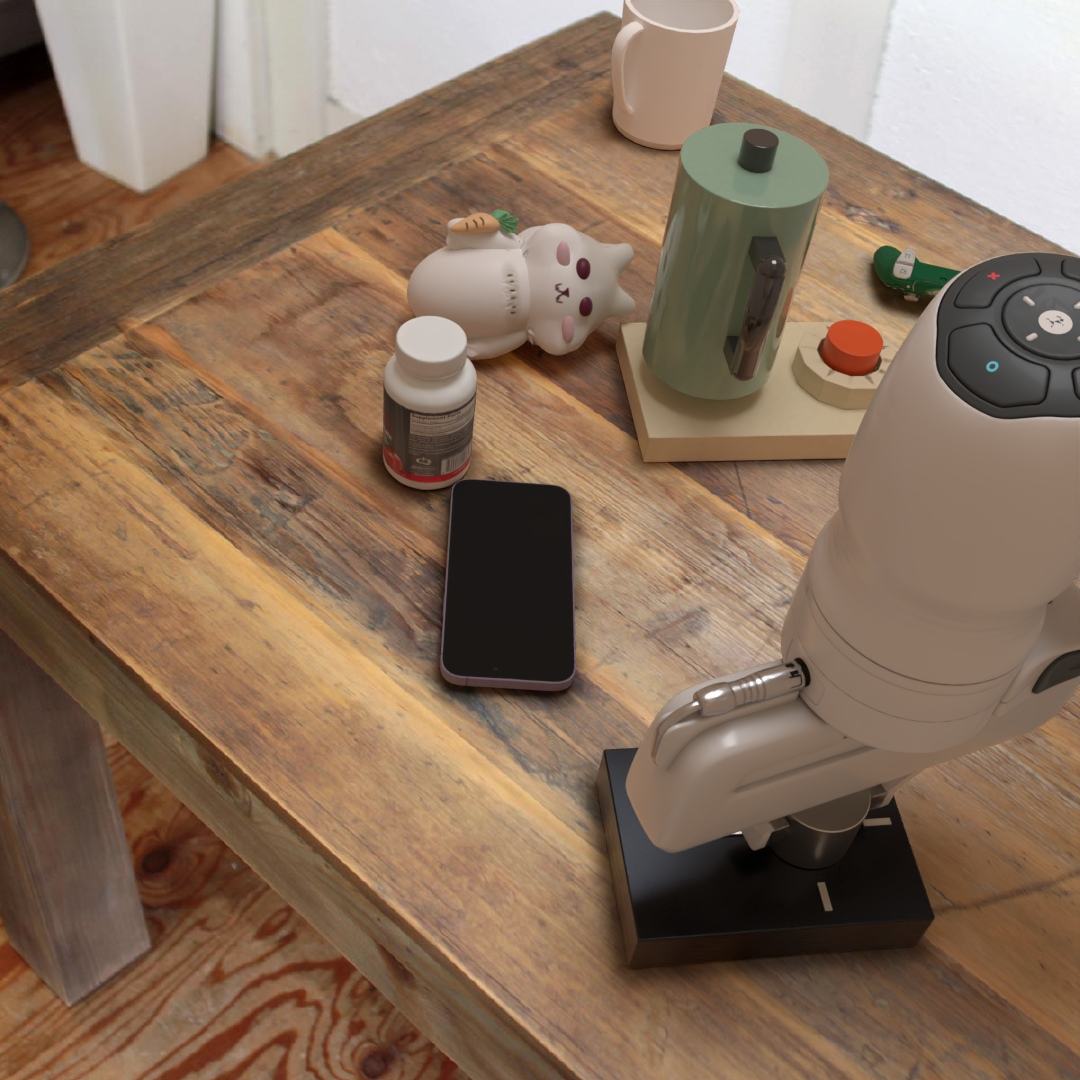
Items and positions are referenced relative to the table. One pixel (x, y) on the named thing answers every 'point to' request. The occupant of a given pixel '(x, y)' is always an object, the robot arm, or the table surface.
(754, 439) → the kettle base
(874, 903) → the dial panel
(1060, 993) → the table surface
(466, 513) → the smartphone
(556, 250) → the cat figurine
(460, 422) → the pill bottle
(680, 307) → the kettle
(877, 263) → the gaming controller
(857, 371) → the button
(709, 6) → the mug
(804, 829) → the knob
